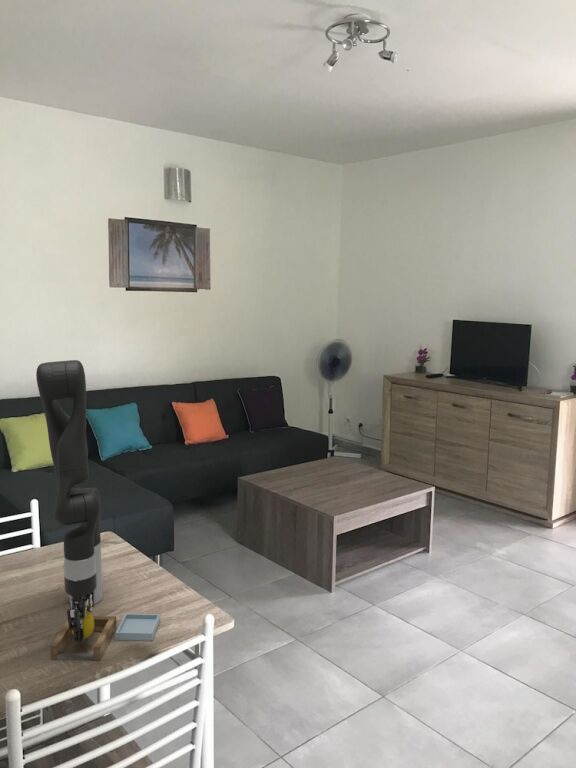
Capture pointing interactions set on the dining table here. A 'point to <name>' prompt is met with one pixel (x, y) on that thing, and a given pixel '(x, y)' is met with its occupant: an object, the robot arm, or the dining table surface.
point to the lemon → (87, 625)
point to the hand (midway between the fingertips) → (83, 633)
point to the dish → (138, 627)
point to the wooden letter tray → (108, 629)
